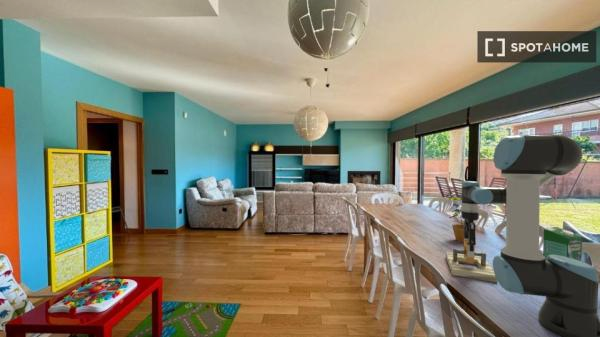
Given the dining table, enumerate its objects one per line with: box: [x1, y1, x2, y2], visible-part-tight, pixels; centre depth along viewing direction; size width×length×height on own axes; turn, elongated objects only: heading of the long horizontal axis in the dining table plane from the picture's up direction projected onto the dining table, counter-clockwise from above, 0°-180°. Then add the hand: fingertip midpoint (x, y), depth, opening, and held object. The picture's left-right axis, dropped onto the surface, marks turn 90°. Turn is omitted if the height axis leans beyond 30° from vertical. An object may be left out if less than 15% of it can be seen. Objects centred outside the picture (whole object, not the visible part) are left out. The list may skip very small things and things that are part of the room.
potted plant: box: [448, 196, 476, 243], centre depth 176 cm, size 18×19×30 cm
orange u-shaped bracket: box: [463, 240, 474, 264], centre depth 131 cm, size 9×3×9 cm, turn 156°
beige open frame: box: [445, 252, 498, 283], centre depth 131 cm, size 25×18×3 cm
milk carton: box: [542, 226, 583, 262], centre depth 114 cm, size 9×9×25 cm
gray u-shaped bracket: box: [452, 248, 487, 266], centre depth 131 cm, size 2×14×9 cm, turn 66°
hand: (468, 253), depth 131 cm, fingers closed on orange u-shaped bracket, 9 cm apart
